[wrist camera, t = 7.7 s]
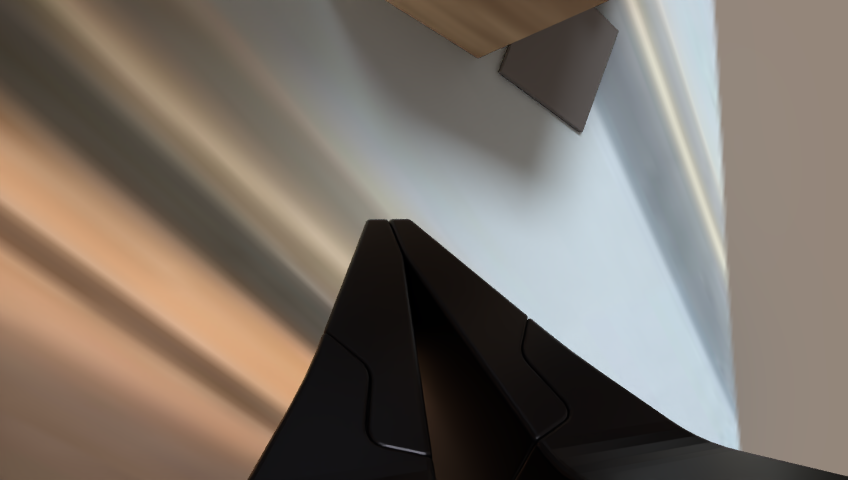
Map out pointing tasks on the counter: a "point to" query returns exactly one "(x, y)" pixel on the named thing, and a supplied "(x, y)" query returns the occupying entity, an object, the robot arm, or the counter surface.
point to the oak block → (490, 19)
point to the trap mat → (563, 64)
